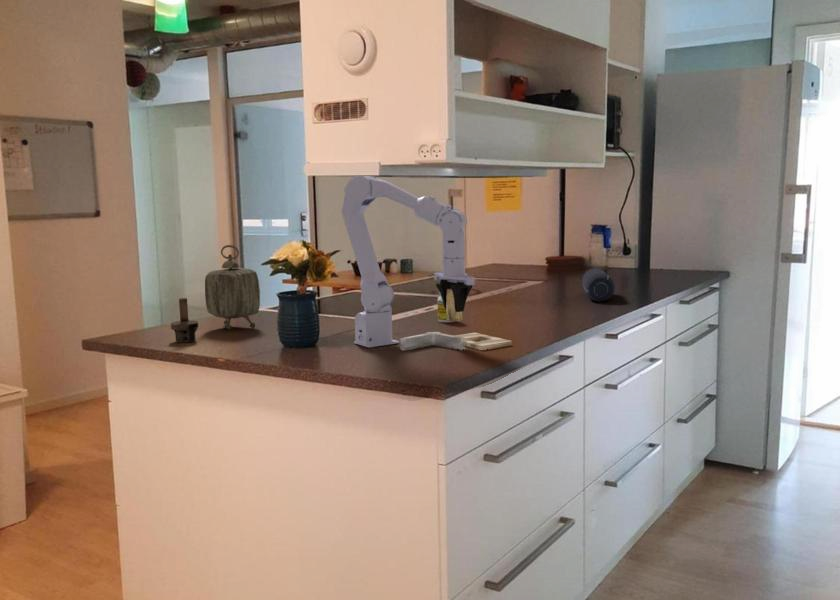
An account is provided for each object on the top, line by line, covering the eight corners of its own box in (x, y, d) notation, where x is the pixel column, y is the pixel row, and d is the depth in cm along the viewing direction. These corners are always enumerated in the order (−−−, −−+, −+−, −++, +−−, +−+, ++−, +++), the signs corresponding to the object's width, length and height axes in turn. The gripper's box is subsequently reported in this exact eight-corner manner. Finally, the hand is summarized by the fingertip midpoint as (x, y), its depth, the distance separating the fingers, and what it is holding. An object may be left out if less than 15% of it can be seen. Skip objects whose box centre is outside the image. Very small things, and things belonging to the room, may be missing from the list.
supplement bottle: (458, 320, 239) (457, 289, 238) (450, 323, 234) (449, 291, 233) (442, 319, 242) (442, 288, 240) (434, 322, 237) (434, 290, 236)
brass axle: (452, 321, 197) (452, 290, 196) (443, 319, 200) (443, 288, 199) (465, 320, 199) (465, 289, 198) (455, 318, 202) (455, 287, 201)
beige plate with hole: (511, 345, 200) (511, 340, 200) (481, 350, 194) (481, 345, 194) (474, 336, 212) (474, 332, 212) (445, 341, 207) (445, 337, 206)
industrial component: (205, 340, 215) (202, 297, 213) (184, 345, 209) (181, 301, 208) (183, 337, 221) (180, 295, 219) (162, 341, 215) (159, 298, 213)
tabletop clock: (261, 327, 233) (257, 244, 230) (240, 332, 226) (235, 246, 222) (226, 324, 241) (221, 243, 237) (204, 329, 233) (199, 245, 229)
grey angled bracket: (465, 350, 195) (465, 338, 195) (400, 350, 196) (400, 339, 196) (465, 342, 204) (464, 331, 204) (402, 343, 205) (402, 332, 205)
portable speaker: (615, 303, 268) (616, 274, 266) (586, 303, 269) (586, 274, 268) (608, 293, 292) (608, 267, 291) (581, 293, 294) (581, 267, 292)
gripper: (484, 258, 193) (484, 312, 195) (449, 254, 205) (449, 305, 207) (461, 260, 189) (462, 315, 191) (427, 256, 201) (428, 308, 203)
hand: (454, 310), depth 199 cm, fingers closed on brass axle, 4 cm apart
